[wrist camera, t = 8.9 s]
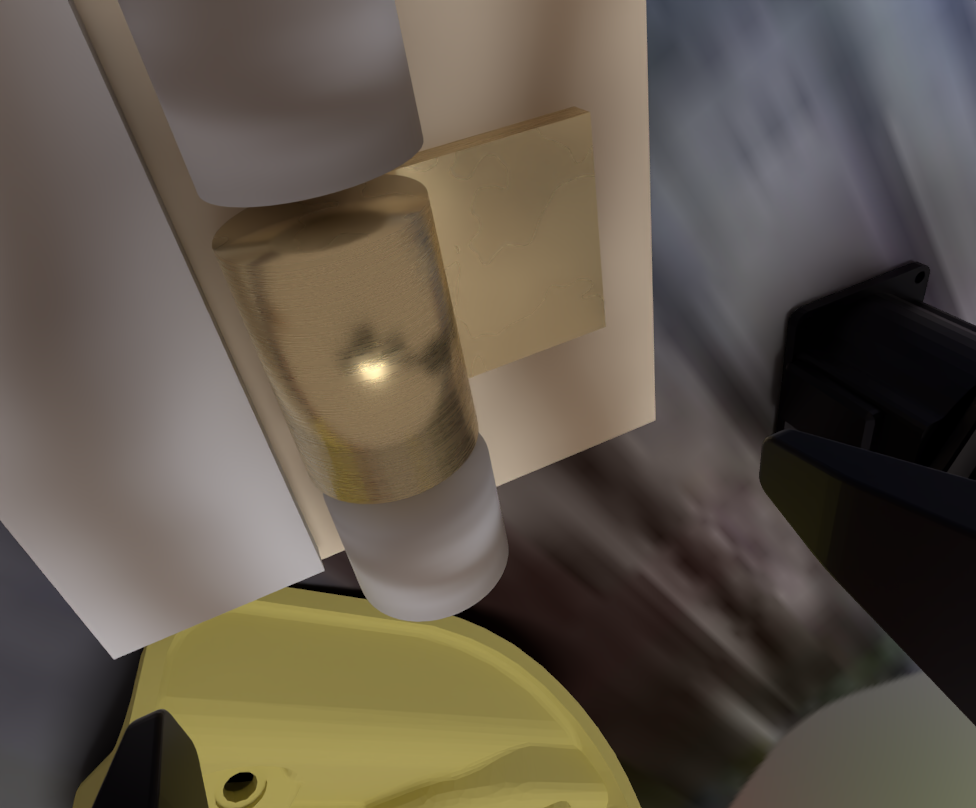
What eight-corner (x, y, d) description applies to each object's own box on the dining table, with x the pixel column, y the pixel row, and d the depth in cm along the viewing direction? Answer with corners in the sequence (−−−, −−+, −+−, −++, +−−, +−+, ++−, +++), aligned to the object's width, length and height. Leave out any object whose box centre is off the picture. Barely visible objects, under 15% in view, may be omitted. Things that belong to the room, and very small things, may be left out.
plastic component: (41, 894, 23) (108, 852, 17) (95, 667, 28) (164, 567, 21) (520, 866, 33) (674, 833, 27) (503, 701, 38) (633, 640, 31)
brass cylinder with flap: (203, 214, 15) (222, 289, 12) (574, 106, 17) (680, 144, 14) (292, 426, 19) (327, 531, 16) (591, 315, 21) (680, 386, 18)
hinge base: (605, -157, 16) (791, -199, 12) (631, 398, 26) (739, 496, 21) (-310, 21, 12) (-581, 64, 7) (123, 605, 21) (120, 782, 17)
